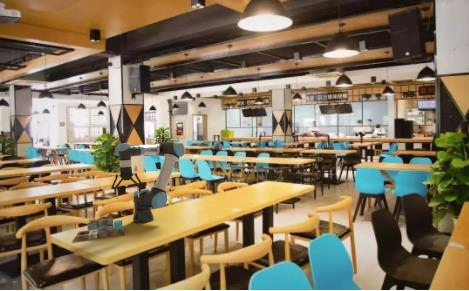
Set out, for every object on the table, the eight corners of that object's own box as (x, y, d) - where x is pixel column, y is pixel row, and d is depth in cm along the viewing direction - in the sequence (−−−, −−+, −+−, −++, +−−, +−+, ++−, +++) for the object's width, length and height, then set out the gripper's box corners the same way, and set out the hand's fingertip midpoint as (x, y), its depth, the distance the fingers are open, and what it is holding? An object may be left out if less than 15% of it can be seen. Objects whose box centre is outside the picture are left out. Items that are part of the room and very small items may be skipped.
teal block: (122, 227, 240) (122, 220, 240) (122, 229, 235) (121, 221, 235) (114, 228, 239) (114, 220, 239) (114, 230, 234) (113, 222, 234)
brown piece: (124, 230, 244) (123, 217, 244) (124, 235, 233) (123, 221, 232) (78, 235, 236) (77, 222, 236) (76, 241, 225) (74, 227, 224)
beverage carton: (87, 232, 245) (86, 222, 244) (103, 224, 263) (103, 215, 263) (97, 232, 243) (96, 223, 242) (113, 224, 261) (112, 215, 261)
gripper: (145, 164, 244) (147, 195, 245) (106, 167, 238) (108, 198, 239) (145, 165, 237) (147, 197, 238) (105, 168, 231) (107, 201, 232)
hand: (128, 198), depth 238 cm, fingers open, 13 cm apart
